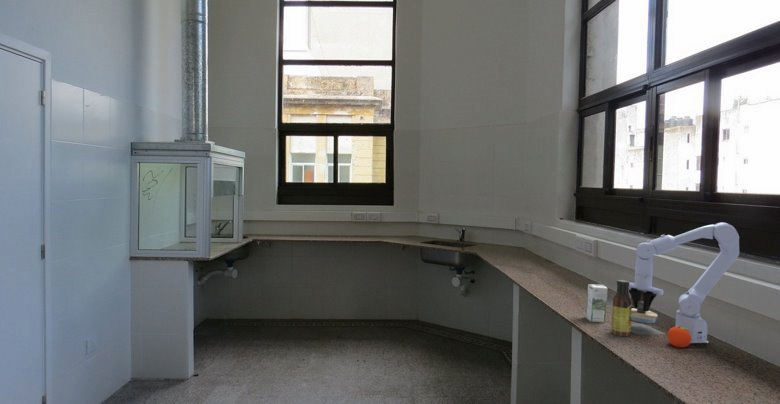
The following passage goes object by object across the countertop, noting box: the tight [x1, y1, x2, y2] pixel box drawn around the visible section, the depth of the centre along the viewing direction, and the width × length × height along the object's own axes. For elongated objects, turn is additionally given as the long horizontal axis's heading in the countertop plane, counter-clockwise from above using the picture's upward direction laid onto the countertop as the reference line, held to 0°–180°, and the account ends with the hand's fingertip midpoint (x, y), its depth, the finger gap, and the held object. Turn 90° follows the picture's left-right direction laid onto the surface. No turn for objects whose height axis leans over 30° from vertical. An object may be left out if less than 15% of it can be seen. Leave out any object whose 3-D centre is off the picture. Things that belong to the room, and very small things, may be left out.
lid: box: [631, 301, 658, 320], centre depth 168 cm, size 11×11×5 cm
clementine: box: [666, 326, 695, 348], centre depth 151 cm, size 8×7×7 cm
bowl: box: [631, 316, 656, 324], centre depth 181 cm, size 9×9×4 cm
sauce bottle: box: [611, 279, 632, 338], centre depth 162 cm, size 6×6×20 cm
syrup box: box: [585, 283, 609, 323], centre depth 178 cm, size 6×6×14 cm
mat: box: [630, 323, 666, 336], centre depth 169 cm, size 12×12×1 cm
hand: (641, 309), depth 168 cm, fingers closed on lid, 3 cm apart
